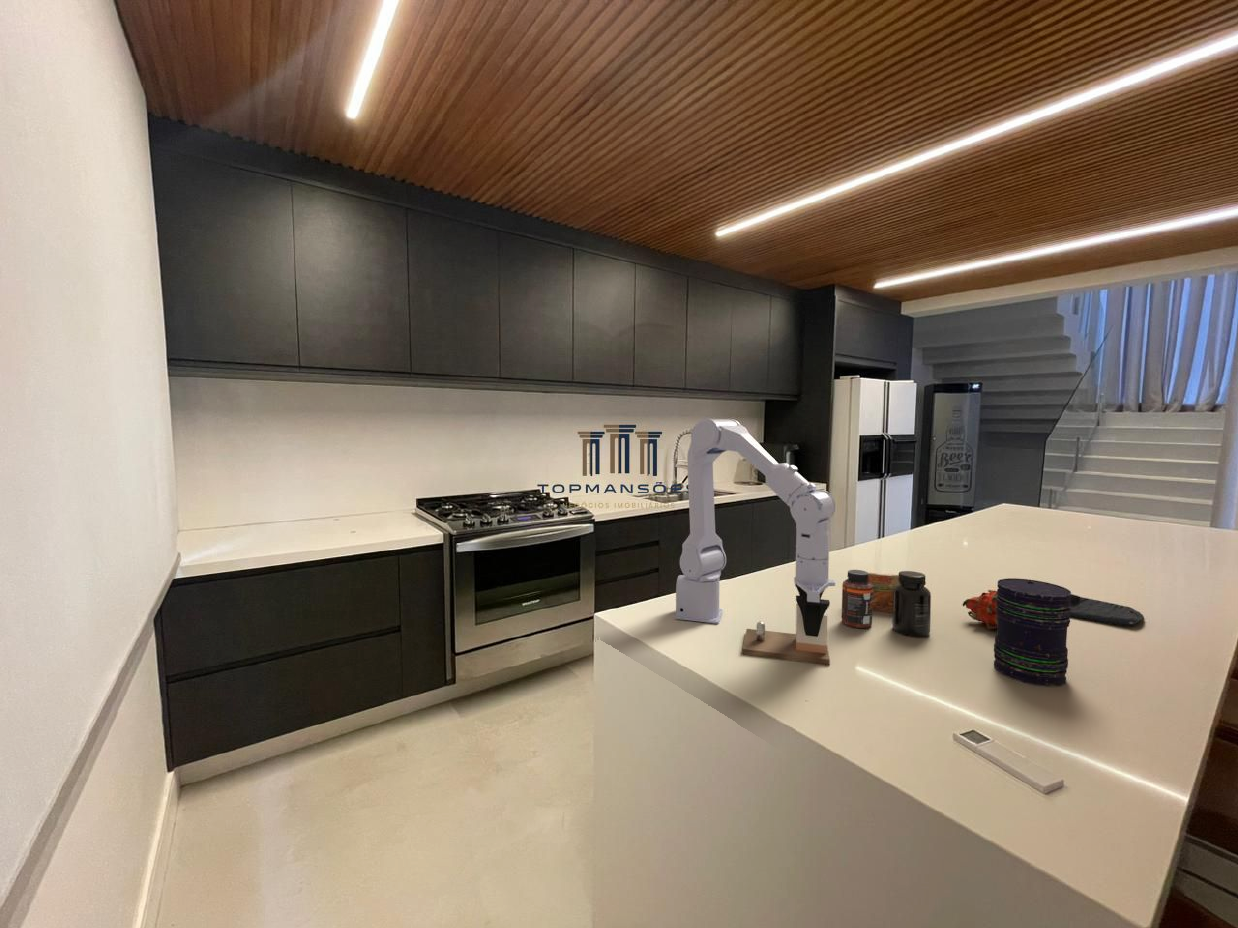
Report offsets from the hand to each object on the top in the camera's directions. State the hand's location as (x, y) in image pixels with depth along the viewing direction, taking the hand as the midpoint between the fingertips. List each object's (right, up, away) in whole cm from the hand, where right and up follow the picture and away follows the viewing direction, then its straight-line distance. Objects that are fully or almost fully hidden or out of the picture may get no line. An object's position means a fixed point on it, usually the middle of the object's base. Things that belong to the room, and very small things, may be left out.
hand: (810, 627), depth 96 cm
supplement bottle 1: (+15, -4, +13) cm, 20 cm away
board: (-4, -5, +2) cm, 6 cm away
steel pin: (-9, -3, +3) cm, 10 cm away
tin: (+25, -3, +22) cm, 33 cm away
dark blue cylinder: (+34, -5, -9) cm, 35 cm away
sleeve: (0, -4, 0) cm, 3 cm away
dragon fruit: (+42, -4, +11) cm, 44 cm away
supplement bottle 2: (+24, -4, +9) cm, 26 cm away
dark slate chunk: (+68, -3, +21) cm, 71 cm away
